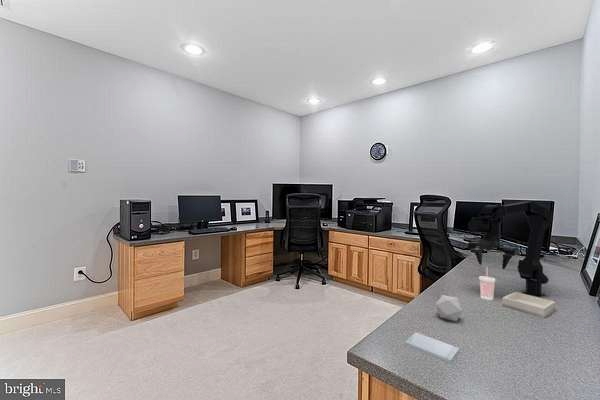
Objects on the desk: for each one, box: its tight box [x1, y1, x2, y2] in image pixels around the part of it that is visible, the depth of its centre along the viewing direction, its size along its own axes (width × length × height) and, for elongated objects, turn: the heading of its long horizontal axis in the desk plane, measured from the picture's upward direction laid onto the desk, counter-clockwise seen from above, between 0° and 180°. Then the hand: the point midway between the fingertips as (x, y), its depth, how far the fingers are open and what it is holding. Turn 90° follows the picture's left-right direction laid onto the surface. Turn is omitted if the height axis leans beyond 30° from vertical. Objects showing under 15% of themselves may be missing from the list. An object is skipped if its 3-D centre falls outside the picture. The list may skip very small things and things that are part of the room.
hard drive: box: [405, 332, 461, 364], centre depth 77 cm, size 2×8×12 cm
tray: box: [502, 291, 556, 319], centre depth 106 cm, size 13×13×4 cm
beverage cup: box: [478, 266, 496, 301], centre depth 117 cm, size 6×6×14 cm
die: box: [435, 294, 463, 322], centre depth 96 cm, size 8×9×10 cm
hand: (491, 266), depth 119 cm, fingers open, 9 cm apart
